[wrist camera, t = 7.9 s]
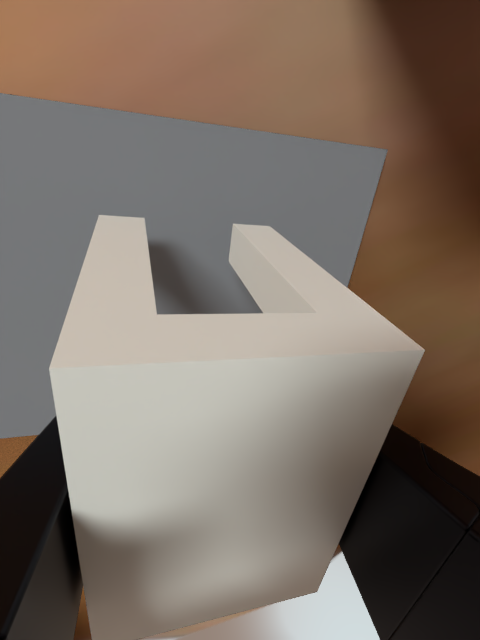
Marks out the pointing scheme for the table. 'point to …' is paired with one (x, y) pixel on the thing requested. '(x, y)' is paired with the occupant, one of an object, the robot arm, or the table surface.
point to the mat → (152, 218)
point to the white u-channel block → (216, 431)
